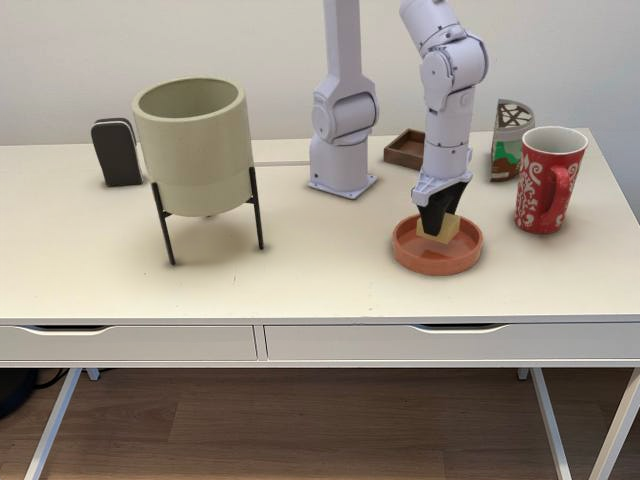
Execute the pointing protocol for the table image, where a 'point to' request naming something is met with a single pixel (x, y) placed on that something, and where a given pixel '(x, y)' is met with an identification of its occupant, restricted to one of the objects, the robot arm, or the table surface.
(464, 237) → the bowl
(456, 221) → the block
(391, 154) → the holder
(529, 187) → the mug
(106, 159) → the battery charger
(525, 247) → the table surface
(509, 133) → the food container
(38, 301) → the table surface
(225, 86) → the planter
